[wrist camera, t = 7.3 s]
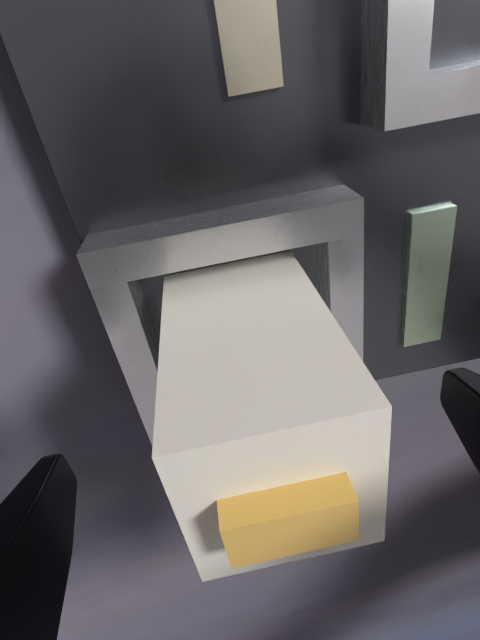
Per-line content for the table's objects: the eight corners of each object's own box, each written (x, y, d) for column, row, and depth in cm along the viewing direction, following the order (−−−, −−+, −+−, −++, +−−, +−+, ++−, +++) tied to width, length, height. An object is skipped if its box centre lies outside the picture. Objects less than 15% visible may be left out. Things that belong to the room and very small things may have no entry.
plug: (301, 352, 15) (397, 570, 8) (192, 375, 15) (204, 613, 8) (290, 250, 13) (409, 434, 6) (163, 276, 13) (149, 490, 6)
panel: (528, 327, 17) (582, 365, 15) (153, 405, 17) (149, 458, 14) (736, -465, 8) (974, -695, 5) (-119, -334, 7) (-257, -526, 5)
